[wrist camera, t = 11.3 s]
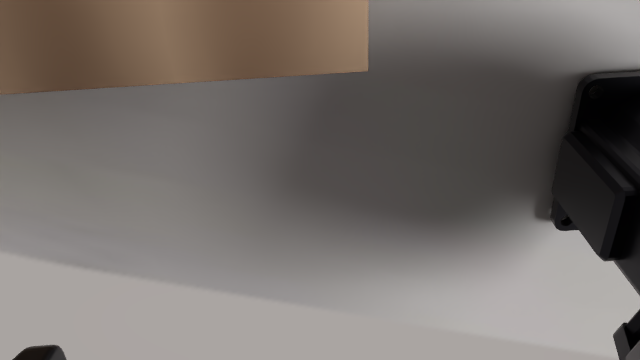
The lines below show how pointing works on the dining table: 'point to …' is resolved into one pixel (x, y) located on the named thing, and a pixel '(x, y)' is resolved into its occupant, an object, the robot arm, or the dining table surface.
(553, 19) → the dining table surface
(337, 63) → the walnut socket block
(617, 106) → the robot arm
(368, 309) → the dining table surface
